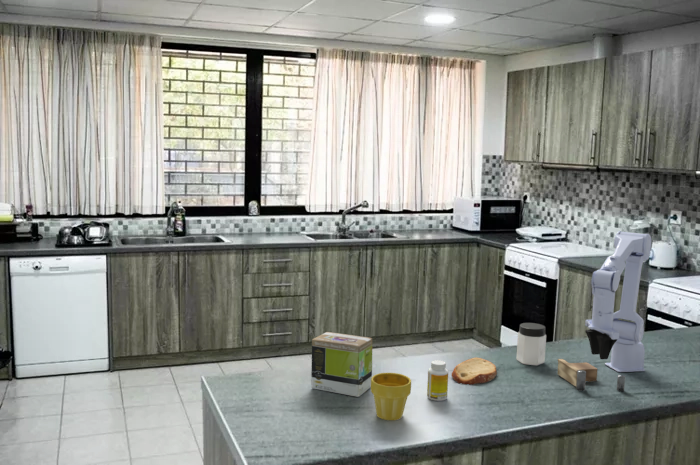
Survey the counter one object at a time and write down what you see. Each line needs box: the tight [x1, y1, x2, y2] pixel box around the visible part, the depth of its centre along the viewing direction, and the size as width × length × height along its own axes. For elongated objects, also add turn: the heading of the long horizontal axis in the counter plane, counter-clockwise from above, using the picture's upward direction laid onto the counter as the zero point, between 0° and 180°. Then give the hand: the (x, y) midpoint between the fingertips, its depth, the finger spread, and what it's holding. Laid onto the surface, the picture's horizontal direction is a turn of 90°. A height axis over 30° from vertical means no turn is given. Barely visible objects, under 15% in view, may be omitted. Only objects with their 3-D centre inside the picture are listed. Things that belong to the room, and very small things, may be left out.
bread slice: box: [451, 357, 498, 386], centre depth 203 cm, size 18×18×4 cm
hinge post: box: [575, 370, 586, 392], centre depth 191 cm, size 2×2×6 cm
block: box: [569, 362, 599, 383], centre depth 201 cm, size 6×6×4 cm
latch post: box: [616, 374, 626, 392], centre depth 191 cm, size 2×2×4 cm
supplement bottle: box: [426, 359, 449, 402], centre depth 182 cm, size 6×6×10 cm
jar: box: [515, 322, 547, 366], centre depth 215 cm, size 9×8×12 cm
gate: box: [556, 358, 579, 387], centre depth 198 cm, size 11×2×5 cm, turn 11°
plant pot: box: [370, 372, 412, 421], centre depth 169 cm, size 10×10×10 cm
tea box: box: [310, 331, 373, 398], centre depth 187 cm, size 15×10×15 cm, turn 65°
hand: (599, 356), depth 192 cm, fingers open, 4 cm apart
